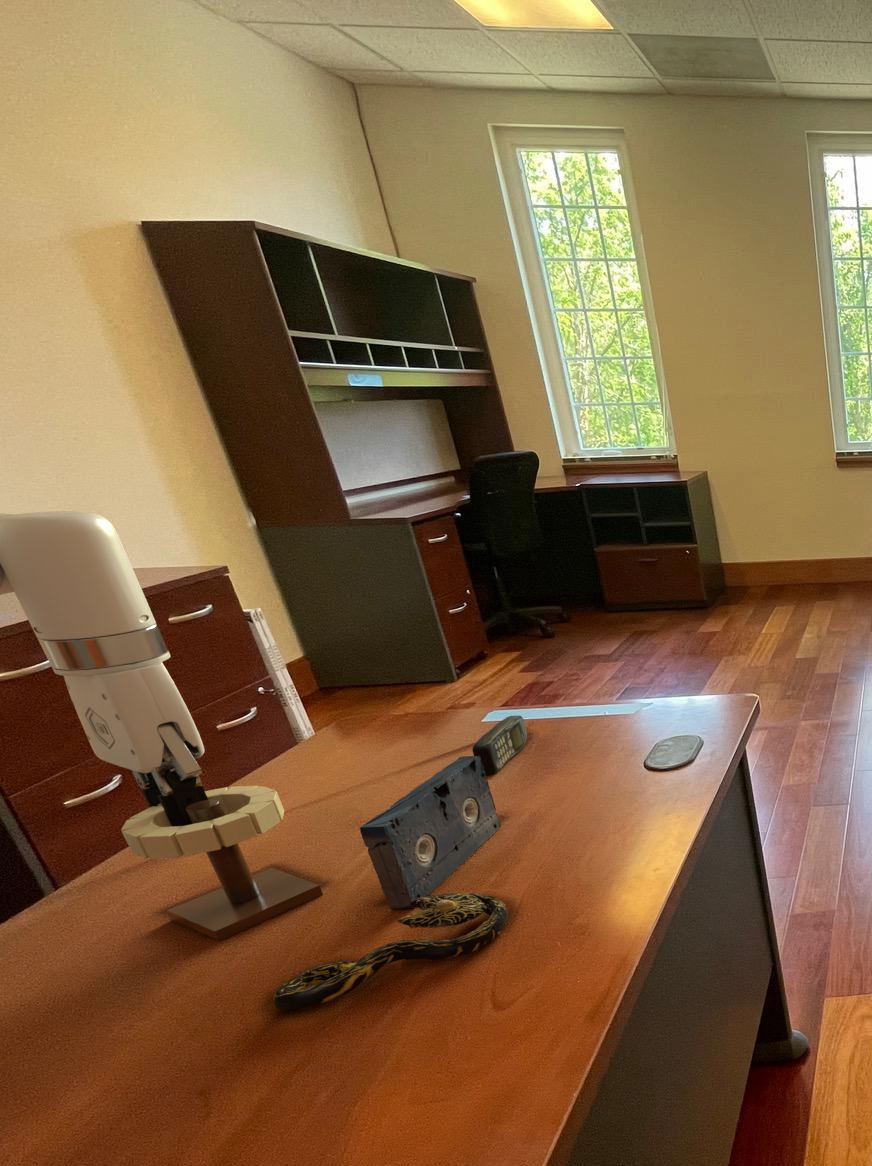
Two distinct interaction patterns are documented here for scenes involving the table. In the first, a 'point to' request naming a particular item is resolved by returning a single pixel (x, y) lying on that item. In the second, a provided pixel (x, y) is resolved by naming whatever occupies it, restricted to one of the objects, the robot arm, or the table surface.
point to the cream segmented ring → (205, 824)
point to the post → (238, 889)
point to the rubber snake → (400, 948)
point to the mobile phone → (501, 743)
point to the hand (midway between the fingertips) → (187, 820)
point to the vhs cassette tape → (431, 831)
